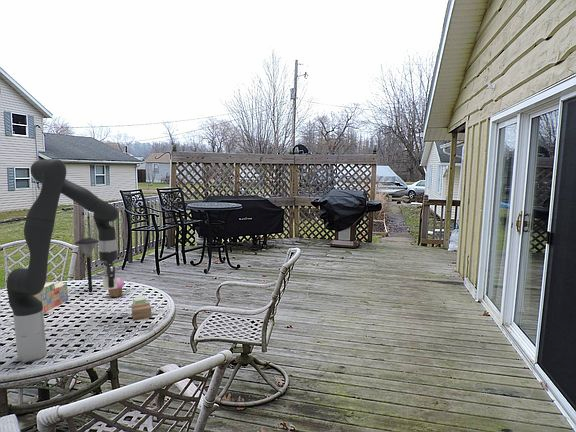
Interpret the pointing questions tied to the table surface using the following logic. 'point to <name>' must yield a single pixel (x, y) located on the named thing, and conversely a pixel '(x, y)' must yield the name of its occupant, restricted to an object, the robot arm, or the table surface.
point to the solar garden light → (88, 255)
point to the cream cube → (105, 282)
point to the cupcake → (117, 289)
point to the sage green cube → (139, 300)
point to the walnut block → (141, 311)
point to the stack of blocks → (52, 295)
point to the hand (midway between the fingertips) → (110, 285)
